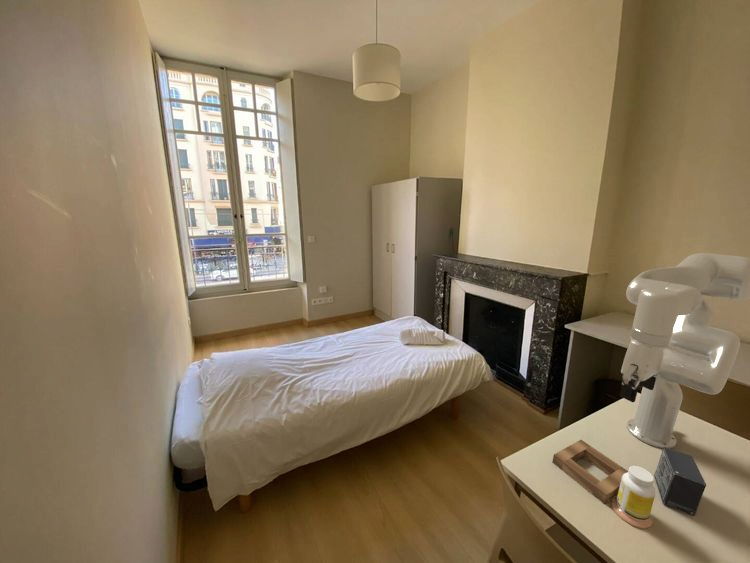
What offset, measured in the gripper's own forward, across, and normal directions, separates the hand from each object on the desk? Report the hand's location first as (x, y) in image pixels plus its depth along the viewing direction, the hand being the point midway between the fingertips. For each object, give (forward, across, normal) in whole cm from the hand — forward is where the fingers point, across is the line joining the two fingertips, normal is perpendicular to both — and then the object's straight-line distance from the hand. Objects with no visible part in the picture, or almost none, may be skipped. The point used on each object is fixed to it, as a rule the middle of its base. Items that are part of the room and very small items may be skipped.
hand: (636, 393), depth 81 cm
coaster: (+27, +11, +8) cm, 30 cm away
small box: (+28, -5, +11) cm, 30 cm away
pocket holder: (+27, +8, -3) cm, 28 cm away
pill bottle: (+26, +11, +8) cm, 29 cm away
